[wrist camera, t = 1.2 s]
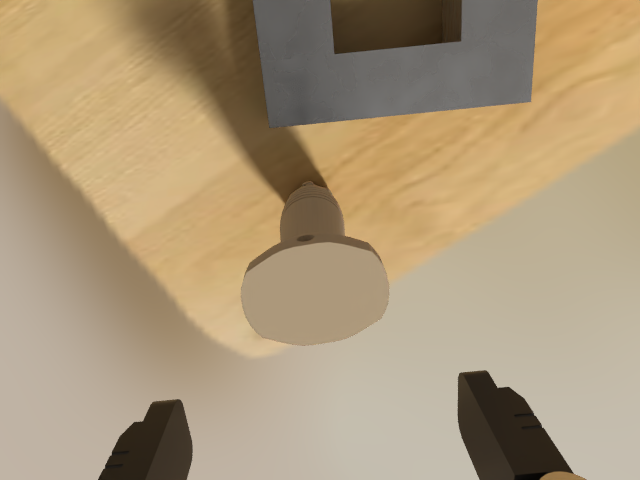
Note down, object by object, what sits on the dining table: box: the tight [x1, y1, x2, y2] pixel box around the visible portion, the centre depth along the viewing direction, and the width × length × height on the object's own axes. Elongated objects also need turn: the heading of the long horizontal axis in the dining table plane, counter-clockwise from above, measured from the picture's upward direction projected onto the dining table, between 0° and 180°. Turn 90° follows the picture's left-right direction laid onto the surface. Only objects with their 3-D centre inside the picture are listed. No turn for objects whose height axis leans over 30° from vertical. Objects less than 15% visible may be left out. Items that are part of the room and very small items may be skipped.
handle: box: [241, 181, 389, 346], centre depth 27 cm, size 5×6×15 cm
